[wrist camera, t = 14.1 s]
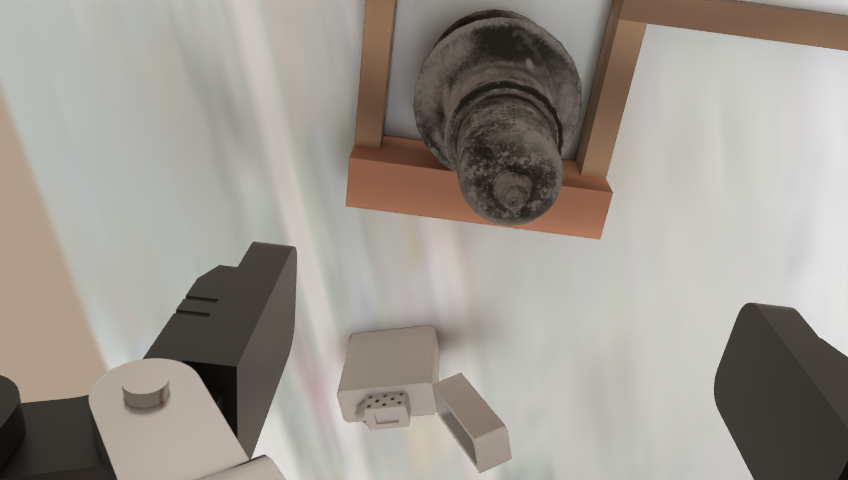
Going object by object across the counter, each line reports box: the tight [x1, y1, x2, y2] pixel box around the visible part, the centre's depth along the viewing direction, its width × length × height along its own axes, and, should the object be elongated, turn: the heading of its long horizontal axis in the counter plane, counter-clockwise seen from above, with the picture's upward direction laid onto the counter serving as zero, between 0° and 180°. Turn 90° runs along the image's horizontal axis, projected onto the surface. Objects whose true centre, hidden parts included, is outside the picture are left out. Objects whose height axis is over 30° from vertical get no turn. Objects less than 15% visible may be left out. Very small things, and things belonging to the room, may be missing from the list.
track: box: [346, 0, 848, 239], centre depth 24 cm, size 18×32×3 cm, turn 83°
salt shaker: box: [413, 10, 582, 226], centre depth 22 cm, size 6×6×12 cm
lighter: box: [337, 325, 511, 473], centre depth 30 cm, size 7×2×8 cm, turn 99°
